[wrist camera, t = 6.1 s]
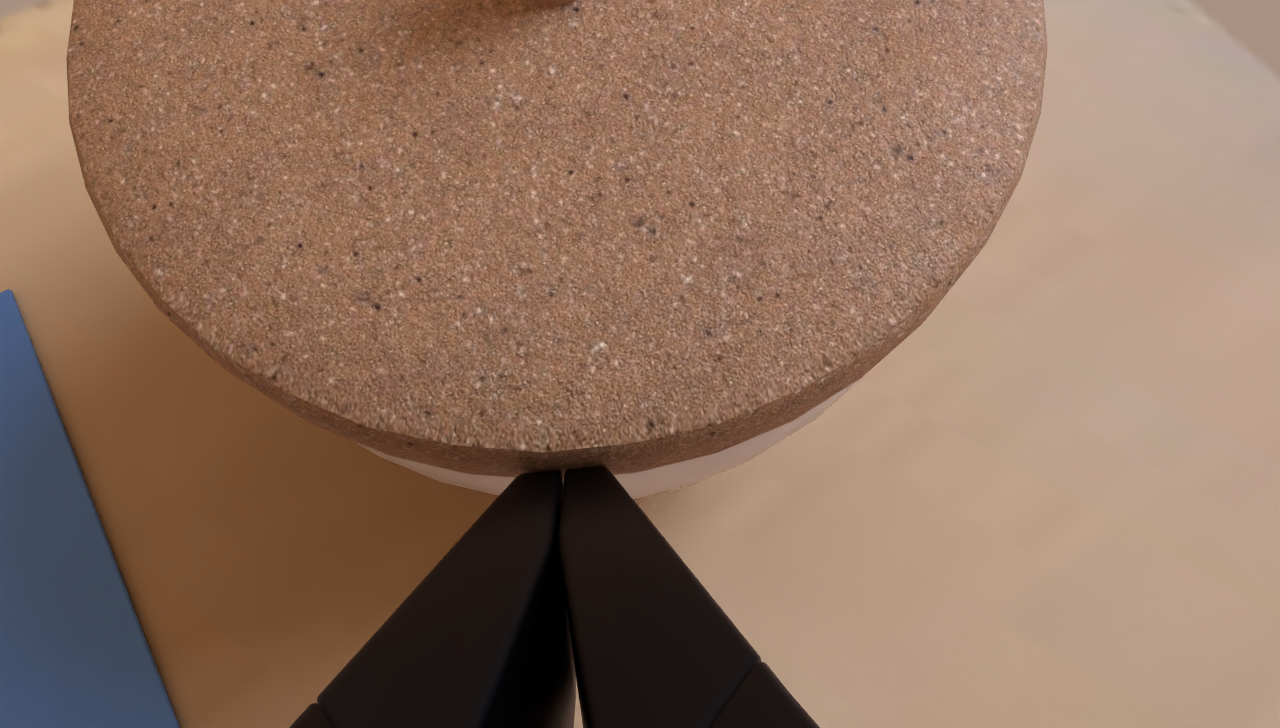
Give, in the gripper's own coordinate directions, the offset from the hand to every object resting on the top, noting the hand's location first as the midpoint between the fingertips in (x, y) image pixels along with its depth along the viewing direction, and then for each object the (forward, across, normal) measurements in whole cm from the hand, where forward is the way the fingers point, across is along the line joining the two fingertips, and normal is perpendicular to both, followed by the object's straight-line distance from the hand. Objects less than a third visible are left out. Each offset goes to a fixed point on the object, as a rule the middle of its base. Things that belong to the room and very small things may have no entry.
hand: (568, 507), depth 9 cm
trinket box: (+9, 0, +1) cm, 9 cm away
